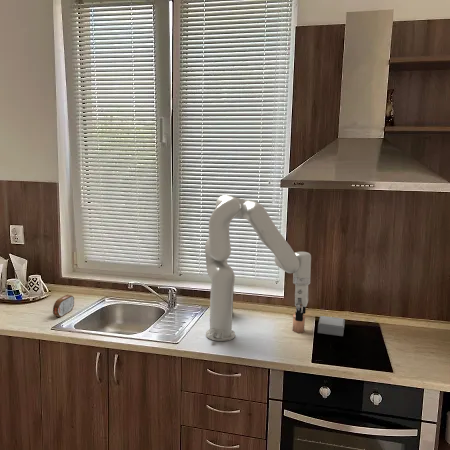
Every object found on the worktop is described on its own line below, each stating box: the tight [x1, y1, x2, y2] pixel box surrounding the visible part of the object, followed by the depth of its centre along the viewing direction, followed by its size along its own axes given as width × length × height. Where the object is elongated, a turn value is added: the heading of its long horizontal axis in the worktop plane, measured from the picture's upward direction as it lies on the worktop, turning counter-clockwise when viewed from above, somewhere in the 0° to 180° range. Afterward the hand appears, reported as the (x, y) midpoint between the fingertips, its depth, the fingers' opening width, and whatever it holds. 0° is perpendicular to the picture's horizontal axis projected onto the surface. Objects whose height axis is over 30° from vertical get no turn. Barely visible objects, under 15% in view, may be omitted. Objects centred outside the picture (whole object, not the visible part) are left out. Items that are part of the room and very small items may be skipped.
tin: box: [52, 294, 75, 318], centre depth 214 cm, size 15×3×8 cm, turn 168°
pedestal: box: [317, 315, 346, 337], centre depth 204 cm, size 11×11×4 cm
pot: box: [292, 313, 306, 334], centre depth 202 cm, size 6×6×7 cm
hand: (300, 316), depth 202 cm, fingers open, 9 cm apart
